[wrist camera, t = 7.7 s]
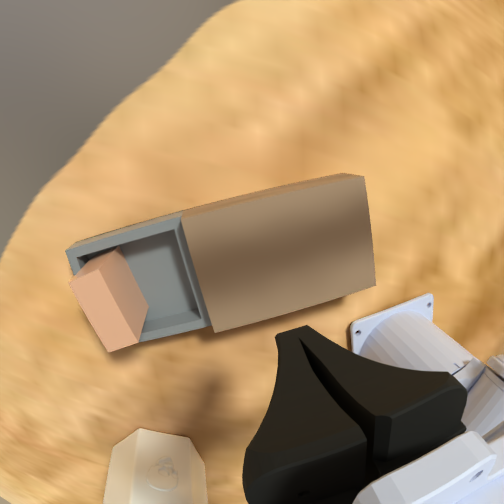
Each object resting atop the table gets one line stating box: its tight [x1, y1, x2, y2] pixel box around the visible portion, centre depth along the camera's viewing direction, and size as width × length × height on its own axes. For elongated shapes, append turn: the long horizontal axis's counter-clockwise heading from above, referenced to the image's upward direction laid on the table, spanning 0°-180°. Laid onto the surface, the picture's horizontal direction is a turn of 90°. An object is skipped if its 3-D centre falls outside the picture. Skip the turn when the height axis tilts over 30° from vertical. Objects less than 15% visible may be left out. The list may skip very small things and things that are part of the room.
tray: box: [65, 211, 212, 343], centre depth 19 cm, size 7×8×2 cm
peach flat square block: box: [68, 245, 149, 353], centre depth 18 cm, size 4×4×2 cm
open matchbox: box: [181, 173, 376, 333], centre depth 20 cm, size 7×10×3 cm, turn 102°
